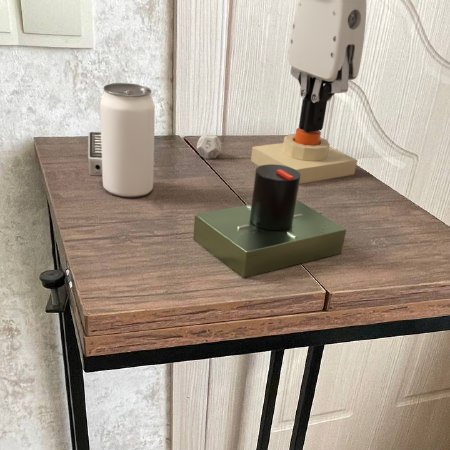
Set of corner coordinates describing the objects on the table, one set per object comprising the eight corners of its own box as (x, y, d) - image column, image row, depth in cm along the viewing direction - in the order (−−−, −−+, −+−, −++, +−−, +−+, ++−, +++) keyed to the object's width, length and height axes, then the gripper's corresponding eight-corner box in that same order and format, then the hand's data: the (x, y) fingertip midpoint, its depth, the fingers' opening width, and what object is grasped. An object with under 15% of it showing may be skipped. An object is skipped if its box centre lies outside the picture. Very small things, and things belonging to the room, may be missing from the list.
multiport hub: (119, 148, 93) (119, 132, 92) (122, 176, 85) (122, 158, 83) (89, 147, 92) (88, 131, 91) (89, 175, 84) (88, 157, 83)
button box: (311, 153, 100) (315, 126, 97) (354, 174, 94) (360, 147, 91) (250, 161, 94) (253, 134, 91) (292, 185, 88) (296, 156, 85)
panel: (287, 219, 79) (291, 195, 77) (341, 253, 72) (347, 227, 70) (193, 239, 72) (194, 212, 70) (243, 278, 66) (246, 250, 64)
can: (162, 187, 83) (165, 89, 75) (135, 202, 78) (135, 100, 71) (121, 175, 85) (120, 79, 77) (92, 189, 80) (88, 88, 73)
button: (308, 138, 93) (310, 126, 92) (323, 146, 91) (326, 133, 90) (289, 140, 92) (291, 128, 91) (305, 148, 90) (307, 136, 88)
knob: (241, 215, 71) (247, 164, 67) (276, 210, 73) (283, 159, 69) (265, 233, 68) (273, 180, 64) (300, 226, 70) (310, 174, 66)
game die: (222, 160, 93) (224, 140, 91) (198, 160, 92) (199, 139, 90) (217, 152, 96) (219, 132, 94) (193, 152, 95) (195, 131, 93)
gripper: (399, -14, 76) (365, 142, 87) (318, -31, 85) (297, 112, 97) (354, -15, 72) (325, 148, 84) (275, -33, 81) (258, 117, 93)
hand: (310, 129), depth 90 cm, fingers closed
